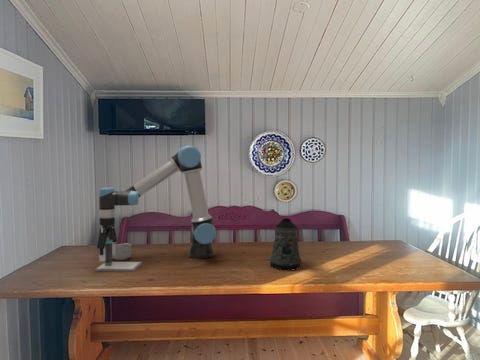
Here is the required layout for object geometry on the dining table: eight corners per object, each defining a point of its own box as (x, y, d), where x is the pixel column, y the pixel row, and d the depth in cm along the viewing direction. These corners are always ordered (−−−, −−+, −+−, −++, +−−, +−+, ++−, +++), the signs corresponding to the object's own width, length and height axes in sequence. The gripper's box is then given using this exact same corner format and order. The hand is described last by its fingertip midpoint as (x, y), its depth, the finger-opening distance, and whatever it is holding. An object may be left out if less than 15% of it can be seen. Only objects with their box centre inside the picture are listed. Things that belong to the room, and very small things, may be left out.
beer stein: (274, 271, 176) (274, 222, 175) (265, 261, 195) (265, 216, 194) (305, 270, 179) (306, 221, 178) (293, 260, 198) (294, 216, 197)
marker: (113, 264, 185) (113, 239, 185) (110, 265, 181) (110, 240, 181) (106, 263, 185) (106, 239, 185) (103, 265, 181) (103, 240, 181)
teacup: (125, 262, 192) (125, 247, 192) (107, 261, 195) (107, 246, 194) (137, 255, 206) (137, 242, 206) (120, 254, 208) (120, 241, 208)
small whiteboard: (142, 263, 190) (142, 261, 190) (134, 271, 176) (133, 269, 176) (105, 263, 190) (105, 261, 190) (94, 270, 176) (94, 268, 176)
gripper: (109, 213, 195) (109, 251, 196) (89, 220, 170) (90, 264, 171) (122, 213, 195) (123, 251, 196) (104, 221, 170) (105, 264, 171)
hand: (107, 257), depth 183 cm, fingers open, 13 cm apart
